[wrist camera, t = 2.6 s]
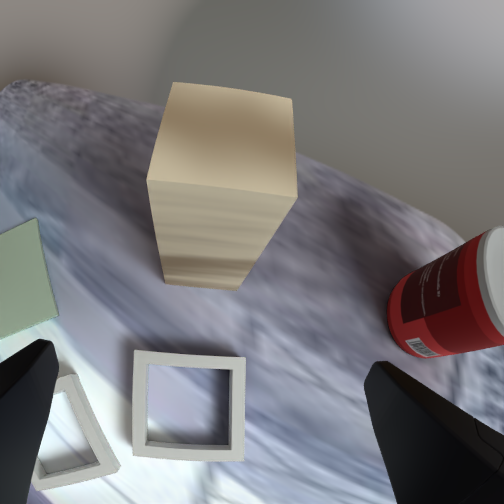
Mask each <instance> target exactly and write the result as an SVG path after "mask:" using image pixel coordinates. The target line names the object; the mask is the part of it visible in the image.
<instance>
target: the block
mask: <svg viewBox="0 0 504 504" xmlns="http://www.w3.org/2000/svg"><path fill="white" fill-rule="evenodd" d="M146 180H147V187H148V193H149V200H150V206H151V212H152V217H153V223H154V229H155V234H156V240H157V245H158V250H159V255H160V260H161V265H162V270H163V274H164V279H165V284H169V285H179V286H189V287H199V288H210V289H221V290H232V291H237V290H238V288H239V287H240V285H241V284H242V282H243V281H244V279H245V278H246V276H247V275H248V273H249V271H250V270H251V268H252V267H253V265H254V264H255V262H256V261H257V259H258V258H259V256H260V255H261V253H262V252H263V250H264V249H265V247H266V245H267V244H268V242H269V241H270V239H271V238H272V236H273V235H274V233H275V232H276V230H277V229H278V227H279V226H280V224H281V222H282V221H283V219H284V218H285V216H286V215H287V213H288V212H289V210H290V209H291V207H292V206H293V204H294V202H295V201H296V199H297V198H298V197H297V175H296V156H295V140H294V124H293V110H292V99H289V98H284V97H279V96H274V95H269V94H263V93H258V92H251V91H246V90H239V89H232V88H225V87H217V86H209V85H200V84H189V83H179V82H174V83H173V85H172V89H171V92H170V95H169V98H168V101H167V105H166V108H165V111H164V114H163V118H162V121H161V125H160V128H159V132H158V136H157V139H156V143H155V147H154V151H153V155H152V159H151V163H150V167H149V171H148V175H147V179H146Z"/></svg>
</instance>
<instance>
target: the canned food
mask: <svg viewBox="0 0 504 504" xmlns="http://www.w3.org/2000/svg"><path fill="white" fill-rule="evenodd" d="M387 320H388V325H389V329H390V332H391V334H392V336H393V338H394V340H395V342H396V343H397V344H398V345H399V347H400V348H401V349H403V350H404V351H405V352H406V353H408V354H411V355H413V356H416V357H420V358H434V357H440V356H447V355H453V354H459V353H465V352H470V351H476V350H481V349H486V348H491V347H496V346H500V345H504V226H497V227H495V228H492V229H490V230H487V231H486V232H484V233H482V234H480V235H479V236H476V237H475V238H473V239H471V240H469V241H468V242H466V243H464V244H463V245H461V246H459V247H457V248H456V249H454V250H452V251H450V252H449V253H447V254H445V255H443V256H441V257H440V258H438V259H436V260H434V261H432V262H430V263H429V264H427V265H425V266H423V267H421V268H419V269H417V270H415V271H414V272H412V273H410V274H408V275H406V276H405V277H403V278H402V279H401V280H400V281H399V283H398V284H397V285H396V286H395V288H394V289H393V291H392V293H391V294H390V297H389V300H388V306H387Z"/></svg>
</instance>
